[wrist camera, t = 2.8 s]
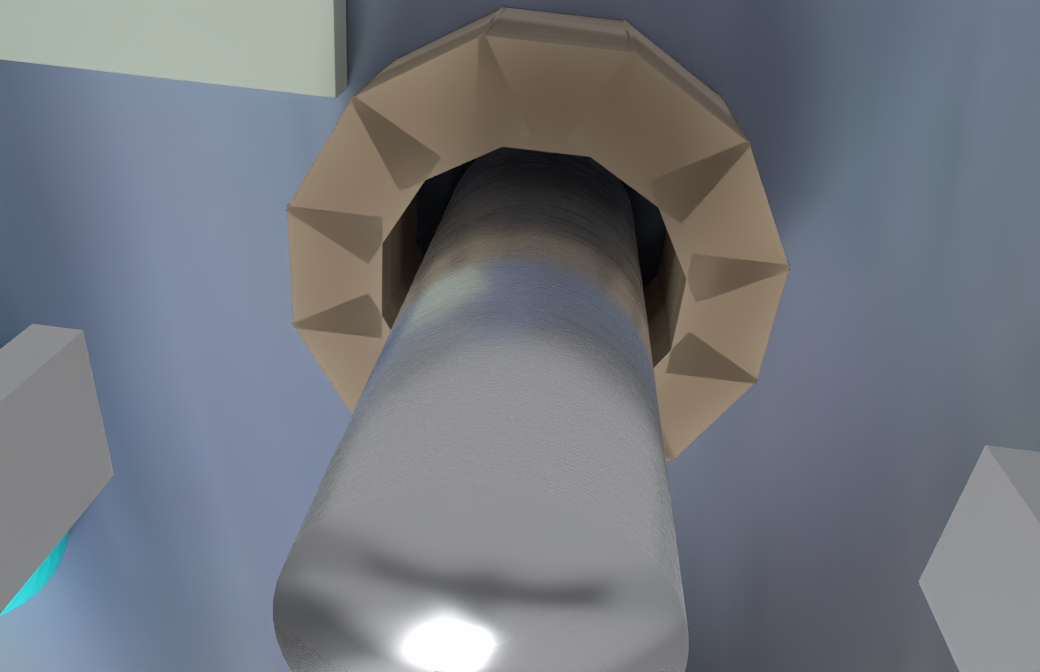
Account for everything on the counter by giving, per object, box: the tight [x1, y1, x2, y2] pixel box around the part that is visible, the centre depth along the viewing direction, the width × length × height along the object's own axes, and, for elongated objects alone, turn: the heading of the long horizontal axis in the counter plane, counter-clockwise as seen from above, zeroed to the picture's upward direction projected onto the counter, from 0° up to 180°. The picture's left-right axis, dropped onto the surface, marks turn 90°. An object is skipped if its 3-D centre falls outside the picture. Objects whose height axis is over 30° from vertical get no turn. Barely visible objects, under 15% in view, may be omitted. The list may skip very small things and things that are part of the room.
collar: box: [286, 6, 790, 462], centre depth 19 cm, size 10×10×4 cm
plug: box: [273, 147, 689, 672], centre depth 15 cm, size 5×5×13 cm
